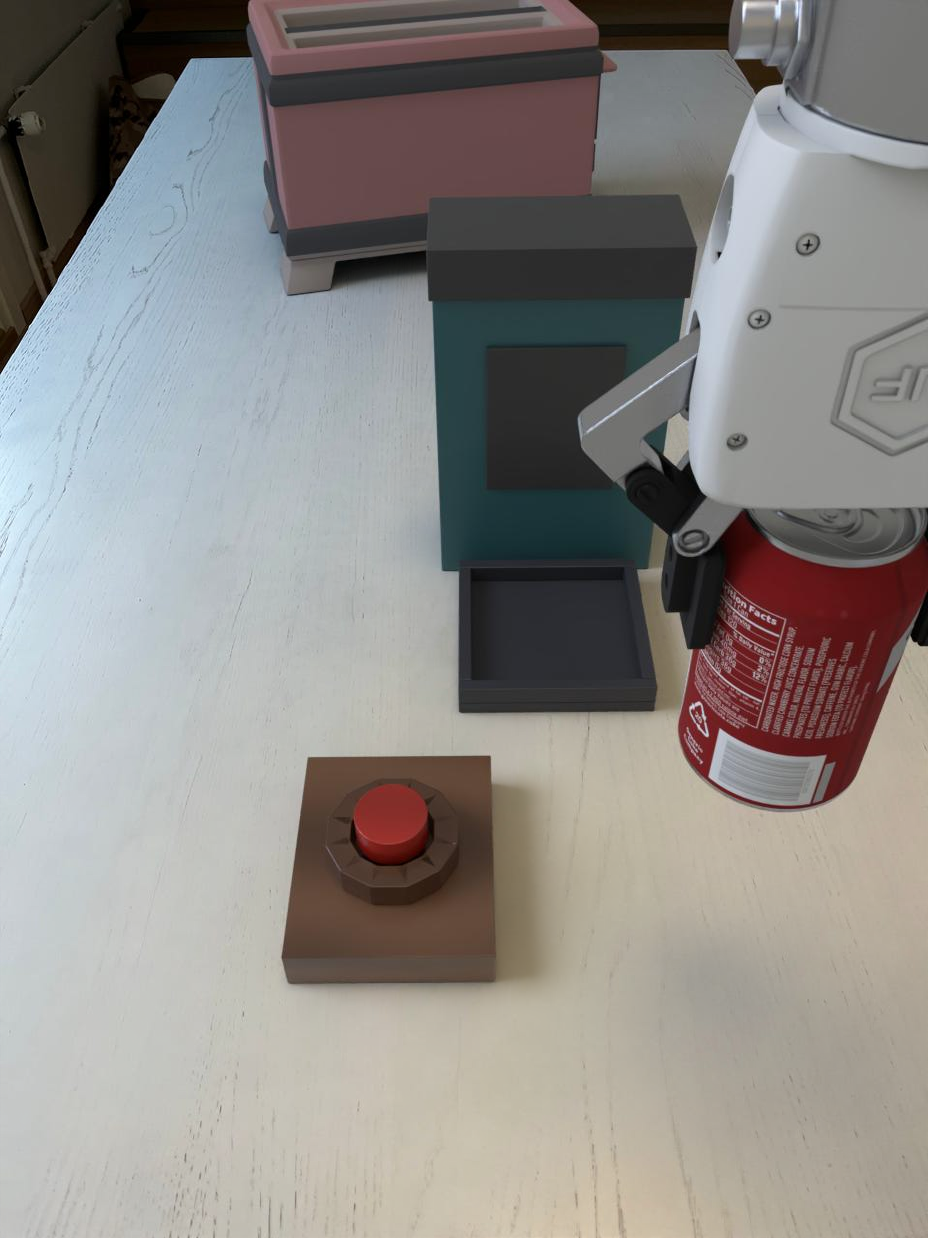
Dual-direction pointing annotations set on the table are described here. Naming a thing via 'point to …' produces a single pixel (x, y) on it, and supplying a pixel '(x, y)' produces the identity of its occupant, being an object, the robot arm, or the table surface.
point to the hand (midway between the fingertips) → (802, 615)
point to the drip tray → (553, 637)
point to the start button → (391, 824)
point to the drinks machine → (545, 363)
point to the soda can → (802, 651)
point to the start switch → (393, 878)
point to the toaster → (414, 116)
